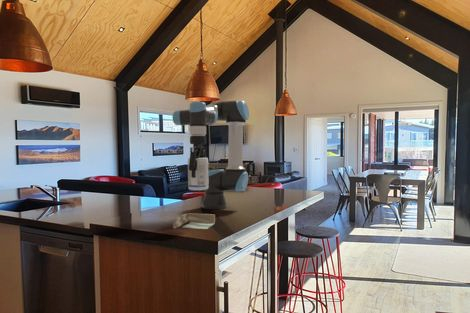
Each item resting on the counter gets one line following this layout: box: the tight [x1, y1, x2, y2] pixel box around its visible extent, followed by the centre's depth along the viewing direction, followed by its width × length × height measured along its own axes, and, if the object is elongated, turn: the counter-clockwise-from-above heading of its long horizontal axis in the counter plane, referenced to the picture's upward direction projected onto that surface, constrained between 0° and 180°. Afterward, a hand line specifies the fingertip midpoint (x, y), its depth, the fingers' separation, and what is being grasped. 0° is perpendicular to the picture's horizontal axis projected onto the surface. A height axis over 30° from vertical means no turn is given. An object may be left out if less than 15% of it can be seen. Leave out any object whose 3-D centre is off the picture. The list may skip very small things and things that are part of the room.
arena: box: [172, 212, 216, 230], centre depth 156 cm, size 16×16×4 cm
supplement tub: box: [187, 157, 209, 191], centre depth 155 cm, size 10×10×15 cm
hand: (198, 183), depth 155 cm, fingers closed on supplement tub, 9 cm apart
